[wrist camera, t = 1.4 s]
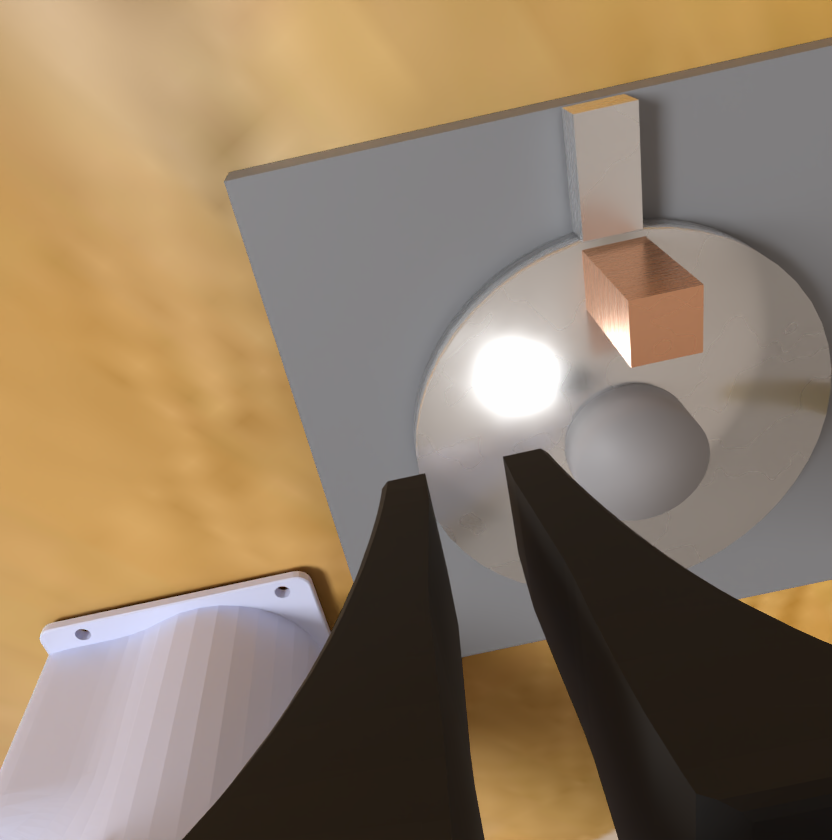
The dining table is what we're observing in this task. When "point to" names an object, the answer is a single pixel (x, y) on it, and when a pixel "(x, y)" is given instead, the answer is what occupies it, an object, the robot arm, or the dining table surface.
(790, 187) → the turntable base
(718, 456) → the flange plate
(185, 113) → the dining table surface
